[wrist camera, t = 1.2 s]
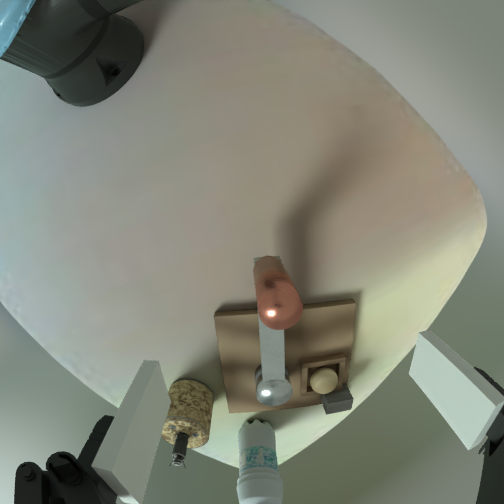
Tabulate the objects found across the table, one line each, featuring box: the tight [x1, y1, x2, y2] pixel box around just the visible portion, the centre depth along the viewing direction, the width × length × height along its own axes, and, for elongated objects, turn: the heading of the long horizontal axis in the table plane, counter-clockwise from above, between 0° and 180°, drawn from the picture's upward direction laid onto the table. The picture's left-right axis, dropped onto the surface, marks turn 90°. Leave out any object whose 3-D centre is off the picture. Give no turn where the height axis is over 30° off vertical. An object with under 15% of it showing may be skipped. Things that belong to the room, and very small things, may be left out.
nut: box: [310, 367, 338, 394], centre depth 35 cm, size 4×4×4 cm
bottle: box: [237, 419, 283, 504], centre depth 32 cm, size 7×7×20 cm
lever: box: [253, 256, 303, 406], centre depth 27 cm, size 21×5×12 cm, turn 4°
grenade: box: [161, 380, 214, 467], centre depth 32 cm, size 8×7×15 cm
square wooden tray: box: [214, 299, 356, 414], centre depth 36 cm, size 18×19×6 cm
